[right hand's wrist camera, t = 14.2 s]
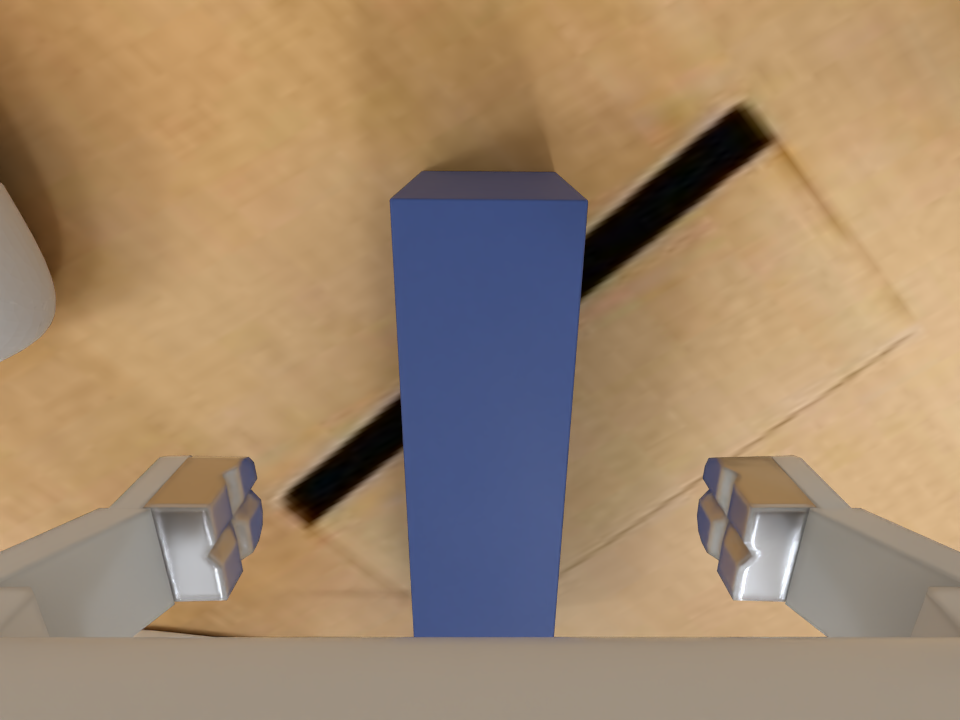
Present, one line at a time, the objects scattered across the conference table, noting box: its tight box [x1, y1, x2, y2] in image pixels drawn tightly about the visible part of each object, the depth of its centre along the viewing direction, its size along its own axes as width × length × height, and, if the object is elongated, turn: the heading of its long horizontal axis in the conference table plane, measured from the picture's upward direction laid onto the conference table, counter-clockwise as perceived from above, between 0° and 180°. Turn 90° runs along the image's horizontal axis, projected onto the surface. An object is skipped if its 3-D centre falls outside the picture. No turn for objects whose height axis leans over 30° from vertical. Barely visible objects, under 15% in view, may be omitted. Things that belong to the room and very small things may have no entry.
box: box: [390, 171, 588, 637], centre depth 27 cm, size 27×6×9 cm, turn 0°
